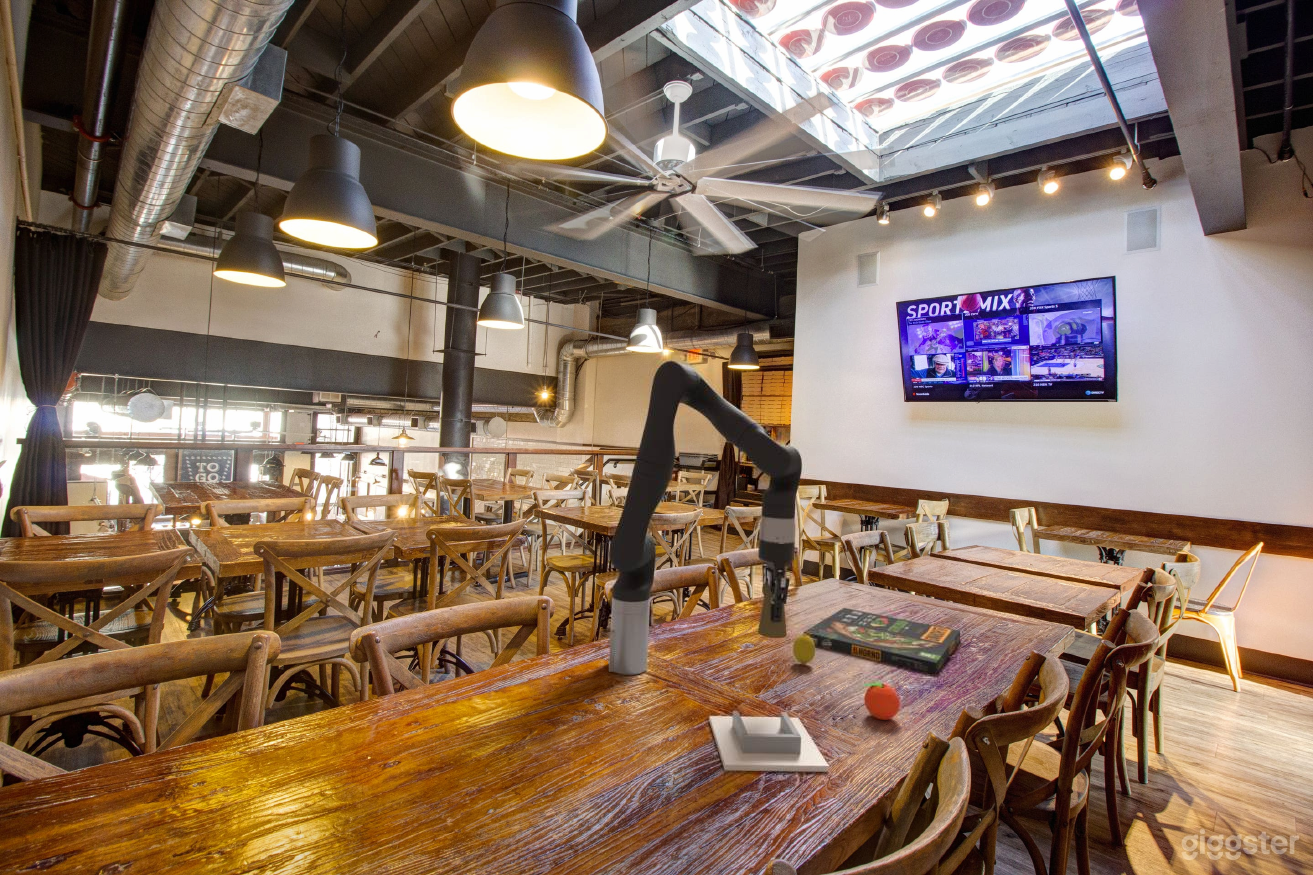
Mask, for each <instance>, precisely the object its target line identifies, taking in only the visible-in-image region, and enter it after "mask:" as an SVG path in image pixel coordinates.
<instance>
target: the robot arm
mask: <svg viewBox="0 0 1313 875" xmlns="http://www.w3.org/2000/svg"><path fill="white" fill-rule="evenodd" d="M649 398H650V399H649V402H648V403H649V405H648V409H647V414H646V415H647V416H646V419H645V424H644V427H643V432H642V434H641V440H640V444H639V447H638V451H637V454H636V458H635V461H634V465H633V468H632V472H631V473H632V474H631V477H630V482H629V485H628V490H627V492H626V497H625V500H624V504H623V507H622V512H621V515H620V518H619V520H618V522H617V525H616V528H615V531H614V532H613V533H614V534H613V536H612V538H611V542H610V545H609V549H608V550H609V551H608V554H609V560H610V562H611V564H612V566H613V567H614V568H615V570H617V571H619V573H618V576H617V579H616V581H615V582H614V583H613V585H612V589H611V590H612V593H611V594H612V595H611V597H612V598H611V617H610V619H611V620H610V635H609V655H608V656H609V657H608V672H609V673H616V674H619V675H628V676H629V675H639V674H642V673H644V672H645V671H646V670H647V669H648V651H649V650H648V648H649V625H650V604H651V591H652V588H653V585H654V580H655V572H656V568H655V567H656V556H657V554H656V553H657V552H656V544H655V541H654V539H653V537H652V536H651V535H650V533H648V529H649V525H650V522H651V519H652V517H653V514H654V513H655V510H656V509H657V508H658V506H659V504H660V502H661V501H662V500H663V497H664V495H665V493H666V492H667V489H668V487H669V484H670V481H671V477H672V474H673V470H674V467H675V462H676V442H675V435H674V434H675V433H674V431H675V430H674V427H675V419H676V416H677V413H678V408H679V405H680V404H683V405H685V406H687V407H689V408H692V409H693V410H695V411H697V412H698V413H699V414H701V415H702V416H703V417H705V418H706V420H708V421H709V422H710V423H711V424H712V426H713V427H714V428H715V430H716V431H717V432H718V433H719V434H720V435H721V436H722V437H723V438H725V439H726V440H727V441H728V442H729V443H730V444H732V445H733V446H735V447H736V448H737V449H738V450H740V451H741V452H742V453H744V454H745V455H746V456H747V458H748V459H749V460H750V461H751V462H752V463H753V464H754V466H755V467H756V468H757V469H759V470H760V472H762V473H763V474H765V475H766V476H768V477H769V478H770V479H769V484H768V487H767V489H766V490H764V491H763V494H762V501H761V502H762V503H761V516H760V517H761V519H760V524H759V534H758V553H757V554H758V559H759V560H761V561H763V562H766V564H762V566H761V569H762V570H761V571H762V573H761V574H762V585H763V584H764V583H765V582H767V581H768V587H769V592H771V621H772V622H781V618H782V605H783V604H784V605H786V604H787V600H788V593H789V586H790V577H787V576H788V573H787V570H786V564H790V563H793V561H795V550H796V549H795V548H796V547H795V546H796V500H797V499H796V497H797V493H798V490H799V485H800V482H801V477H802V470H803V461H802V457H801V453H800V452H799V450H798V449H797V448H795V446H792V445H790V444H780V443H779V442H778V441H776V440H774V439H773V438H772V437H771V436H769V435H768V433H767V430H766V429H765V428H764V427H763V426H762V425H761V424H759V423H758V422H756V421H755V420H754V419H752V417H750V416H749V415H747V414H746V413H744V412H743V411H742V410H740V409H739V408H737V407H736V406H735V405H733V404H732V403H730V402H729V401H727V399H725V398H724V397H723V396H722V395H720V393H718V392H717V391H716V390H715V389H714V388H713V387H712V386H711V385H710V384H709V383H708V382H707V381H706V380H705V379H704V378H703V376H702V375H701V374H700V373H699V372H698V371H697V370H696V369H695V368H693V366H690V365H688V364H684V363H681V362H678V361H676V360H668V361H665V362H663V363H662V364H661V365H660V366H659V367H658V368H657V369H656V371H655V374H654V377H653V380H652V385H651V392H650V397H649ZM772 586H775V589H774V588H773V587H772ZM779 594H781V597H780V598H779V597H778V595H779Z"/></svg>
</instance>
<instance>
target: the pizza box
mask: <svg viewBox="0 0 1313 875" xmlns="http://www.w3.org/2000/svg"><path fill="white" fill-rule="evenodd" d="M803 634H806V635H808V636H809V637H811V638H812V640H813V641H814V644H815V647H820V648H825V649H828V650H833V651H837V652H841V653H846V654H849V655H853V656H857V657H861V658H865V659H868V660H869V659H870V660H874V661H878V662H883V663H887V664H890V665H895V666H898V667H902V668H907V669H910V670H911V669H912V670H914V671H920V672H924V673H928V674H932V675H937V674H938V672H939V671H940V669H941V668H942V667H943V665H944V664H945V662H946V661H947V660H948V659H949V657H950V655H952V652H953V651H955V649H956V647H957V646H958V644H959V643H960V641H961V631H960V630H957V629H952V628H948V627H943V626H938V625H932V624H927V623H923V622H918V621H912V620H908V619H901V618H897V617H892V616H887V615H882V614H878V613H872V612H867V611H862V610H857V609H852V608H847V607H843V608H841V609H840V610H838V611H836V612H835V613H833V614H831V615H830V616H828V617H826V618H825V619H823V620H821V621H820V622H817V623H816V624H815V625H813V626H811V627H810V628H808V629H806V630H804V631H803Z"/></svg>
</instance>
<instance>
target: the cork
mask: <svg viewBox="0 0 1313 875" xmlns="http://www.w3.org/2000/svg"><path fill="white" fill-rule="evenodd" d="M772 587H773V588H774V589H775V586H772ZM761 594H762V595H763V602H762V607H761V608H762V609H761V614H760V618H759V619H760V620H759V624H758V630H757V633H758V634H759V635H760V636H762V637H766V638H770V639H782V638H785V637H787V635H788V634H787V633H788V632H787V624H786V622H787V621H786V611H785V609H786V608H785V604H783V605H782V618H781V622H772V621H771V592H769V587H768V581H767V582H765V583H764V584H763V583H762V587H761ZM778 597H779V598H780V597H781V594H779V595H778Z"/></svg>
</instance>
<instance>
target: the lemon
mask: <svg viewBox="0 0 1313 875" xmlns="http://www.w3.org/2000/svg"><path fill="white" fill-rule="evenodd" d="M792 652H793V653H792V654H793V657H794V658H795V660H796V661H797V662H800V664H801V665H803V666H805V665H806V664H808V663H810V662H812V661H813V660H814V658H815V655H816V645H815V644H814V641H813V640H812V638H811V637H809V636H808V635H806V634H804V633H802V634H799V635H798V636H796V637H795V639H794V641H793V645H792Z"/></svg>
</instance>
